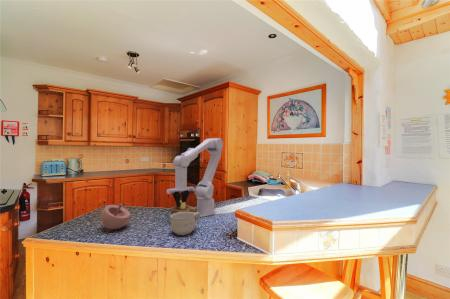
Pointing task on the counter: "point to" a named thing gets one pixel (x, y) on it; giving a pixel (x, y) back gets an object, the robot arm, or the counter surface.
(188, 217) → the teacup
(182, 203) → the brass token
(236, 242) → the counter surface
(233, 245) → the counter surface
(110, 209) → the mortar and pestle
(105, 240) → the counter surface
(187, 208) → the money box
